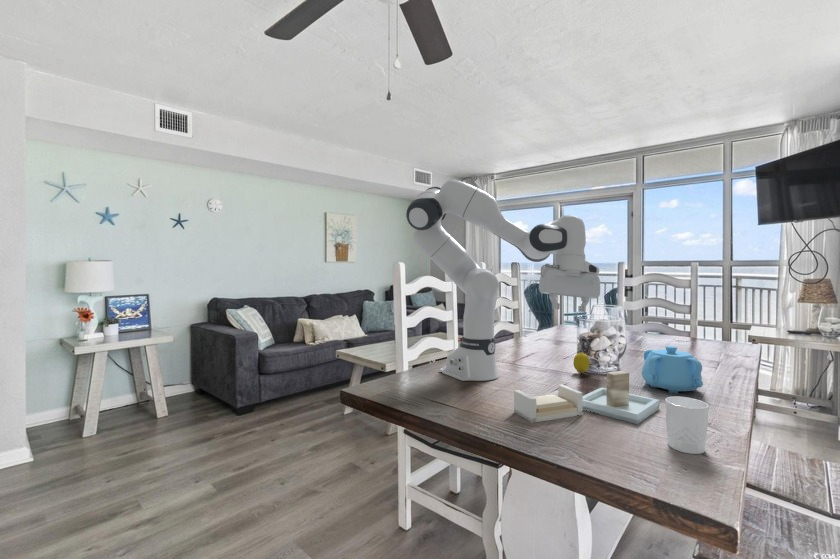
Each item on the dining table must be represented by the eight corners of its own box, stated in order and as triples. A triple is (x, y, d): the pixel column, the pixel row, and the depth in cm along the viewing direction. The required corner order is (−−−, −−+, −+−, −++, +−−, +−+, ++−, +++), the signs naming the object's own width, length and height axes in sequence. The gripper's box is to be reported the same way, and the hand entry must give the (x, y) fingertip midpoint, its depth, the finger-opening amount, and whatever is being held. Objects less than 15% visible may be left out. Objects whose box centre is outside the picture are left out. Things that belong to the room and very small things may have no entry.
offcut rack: (514, 412, 109) (514, 390, 109) (562, 405, 114) (562, 384, 114) (531, 422, 102) (531, 399, 101) (582, 414, 107) (582, 392, 107)
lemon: (591, 376, 145) (591, 354, 145) (574, 375, 146) (574, 353, 146) (587, 372, 150) (587, 350, 150) (572, 371, 151) (572, 350, 151)
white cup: (663, 449, 86) (664, 403, 86) (665, 436, 93) (666, 394, 93) (708, 459, 82) (709, 411, 82) (707, 445, 89) (708, 400, 88)
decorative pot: (699, 385, 133) (699, 344, 133) (704, 399, 119) (704, 353, 119) (642, 379, 141) (643, 340, 141) (641, 391, 127) (642, 348, 127)
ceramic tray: (576, 407, 112) (576, 399, 112) (601, 395, 123) (601, 387, 123) (637, 424, 100) (637, 414, 100) (659, 408, 111) (659, 399, 111)
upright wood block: (606, 404, 112) (606, 372, 112) (621, 402, 114) (621, 370, 113) (613, 407, 109) (613, 374, 109) (628, 405, 111) (629, 373, 111)
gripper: (547, 261, 121) (545, 307, 119) (603, 269, 126) (603, 313, 124) (535, 264, 127) (534, 307, 125) (590, 271, 132) (589, 313, 130)
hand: (569, 310), depth 125 cm, fingers open, 8 cm apart
